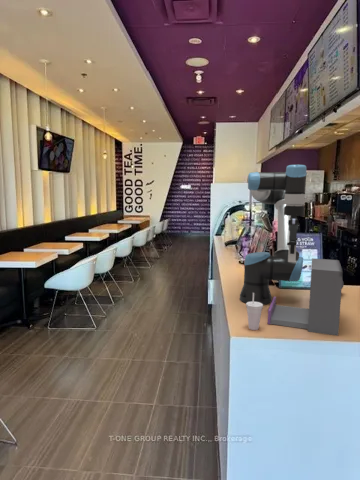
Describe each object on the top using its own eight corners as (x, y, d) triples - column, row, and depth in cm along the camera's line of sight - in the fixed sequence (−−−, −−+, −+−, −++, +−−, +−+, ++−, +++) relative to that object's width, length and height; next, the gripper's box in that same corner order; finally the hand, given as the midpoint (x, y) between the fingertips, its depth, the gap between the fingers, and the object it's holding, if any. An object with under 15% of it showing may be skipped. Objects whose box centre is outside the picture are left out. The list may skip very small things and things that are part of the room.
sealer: (307, 331, 131) (311, 269, 128) (308, 312, 152) (312, 258, 149) (338, 335, 127) (342, 271, 124) (334, 315, 149) (338, 260, 146)
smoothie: (243, 325, 137) (244, 290, 135) (259, 324, 137) (260, 290, 136) (247, 331, 131) (249, 295, 129) (264, 331, 131) (265, 295, 129)
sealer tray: (267, 323, 138) (268, 310, 137) (273, 308, 156) (273, 296, 156) (309, 329, 132) (310, 315, 132) (310, 313, 151) (310, 300, 150)
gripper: (305, 206, 123) (302, 265, 125) (303, 204, 146) (300, 254, 149) (283, 206, 125) (280, 264, 128) (285, 204, 148) (282, 253, 151)
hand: (291, 259), depth 138 cm, fingers open, 13 cm apart
